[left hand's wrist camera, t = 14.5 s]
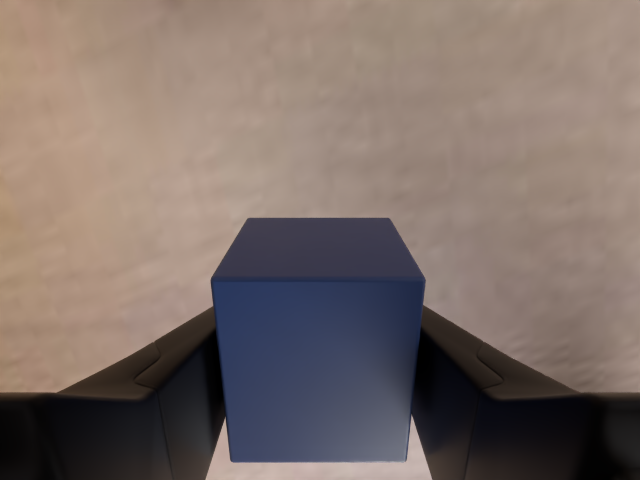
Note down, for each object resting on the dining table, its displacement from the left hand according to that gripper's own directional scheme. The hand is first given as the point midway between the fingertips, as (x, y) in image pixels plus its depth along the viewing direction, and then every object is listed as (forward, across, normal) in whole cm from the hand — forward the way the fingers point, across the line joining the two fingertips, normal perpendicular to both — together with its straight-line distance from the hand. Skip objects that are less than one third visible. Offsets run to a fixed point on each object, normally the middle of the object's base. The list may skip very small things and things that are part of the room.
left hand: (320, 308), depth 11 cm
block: (+1, 0, 0) cm, 1 cm away
